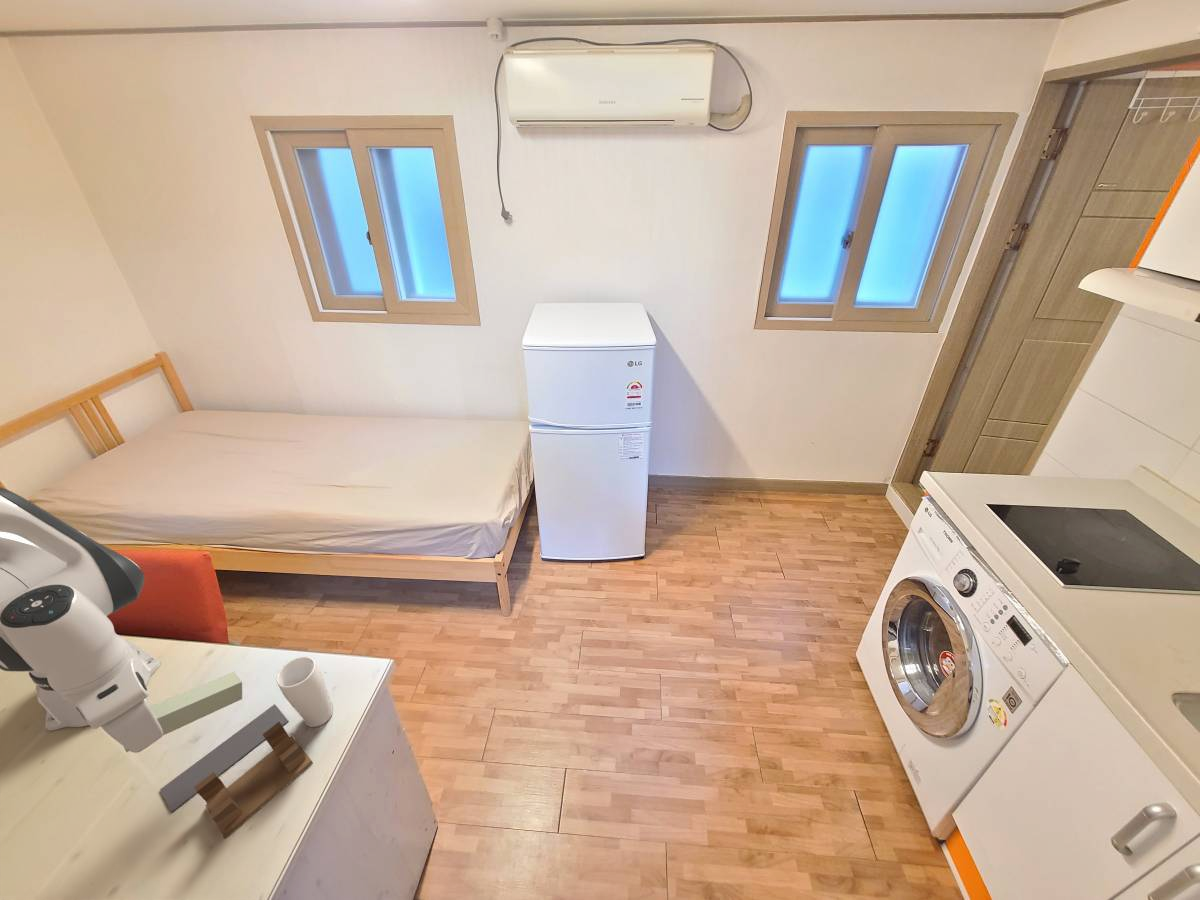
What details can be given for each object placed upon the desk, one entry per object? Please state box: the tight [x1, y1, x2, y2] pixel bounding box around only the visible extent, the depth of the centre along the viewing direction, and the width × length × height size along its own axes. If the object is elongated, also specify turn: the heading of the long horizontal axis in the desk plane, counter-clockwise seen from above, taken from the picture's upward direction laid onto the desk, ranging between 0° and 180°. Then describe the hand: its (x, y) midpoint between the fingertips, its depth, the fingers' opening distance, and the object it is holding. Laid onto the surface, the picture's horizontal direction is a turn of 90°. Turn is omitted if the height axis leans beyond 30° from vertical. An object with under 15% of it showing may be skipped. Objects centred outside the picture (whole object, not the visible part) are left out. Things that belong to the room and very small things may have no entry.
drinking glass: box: [276, 656, 334, 728], centre depth 96 cm, size 7×7×15 cm
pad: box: [159, 703, 289, 813], centre depth 94 cm, size 6×20×1 cm, turn 144°
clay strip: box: [122, 671, 243, 753], centre depth 85 cm, size 16×4×4 cm, turn 144°
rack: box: [194, 722, 313, 839], centre depth 88 cm, size 8×15×6 cm, turn 144°
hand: (146, 724), depth 81 cm, fingers closed on clay strip, 3 cm apart
